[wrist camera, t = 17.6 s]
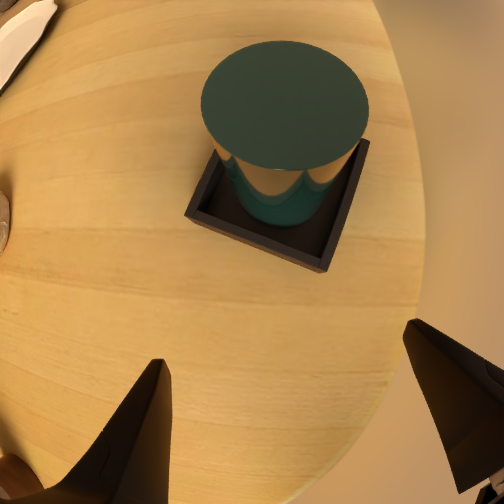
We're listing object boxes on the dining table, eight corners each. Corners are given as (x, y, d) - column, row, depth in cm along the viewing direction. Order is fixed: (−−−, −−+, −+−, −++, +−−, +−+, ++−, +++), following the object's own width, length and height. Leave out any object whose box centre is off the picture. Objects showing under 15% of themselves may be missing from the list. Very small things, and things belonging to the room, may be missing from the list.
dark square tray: (360, 156, 19) (370, 141, 17) (320, 273, 19) (327, 272, 16) (245, 114, 20) (242, 96, 18) (194, 223, 20) (183, 215, 17)
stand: (44, 479, 18) (16, 500, 12) (45, 506, 18) (22, 525, 12) (4, 443, 19) (-25, 457, 13) (8, 473, 18) (-17, 487, 13)
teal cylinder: (327, 228, 18) (381, 173, 9) (234, 228, 19) (193, 173, 9) (322, 144, 19) (353, 45, 9) (236, 145, 19) (207, 44, 10)
